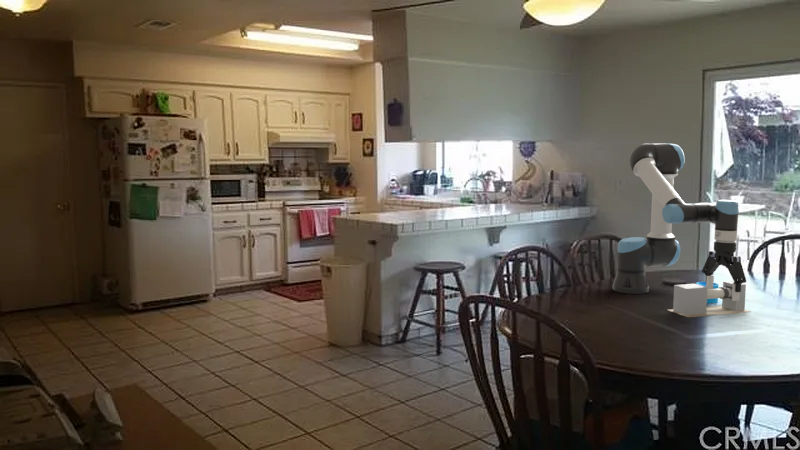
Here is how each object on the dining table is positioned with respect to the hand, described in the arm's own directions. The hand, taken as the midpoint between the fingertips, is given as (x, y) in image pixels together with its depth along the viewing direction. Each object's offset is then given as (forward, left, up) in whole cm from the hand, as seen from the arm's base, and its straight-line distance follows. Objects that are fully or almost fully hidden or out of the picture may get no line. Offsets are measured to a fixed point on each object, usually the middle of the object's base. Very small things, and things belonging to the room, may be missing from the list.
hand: (722, 296), depth 244 cm
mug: (-15, +6, -6) cm, 17 cm away
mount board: (0, -6, -6) cm, 9 cm away
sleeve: (0, -14, -5) cm, 15 cm away
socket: (0, +5, -5) cm, 7 cm away
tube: (0, -3, -1) cm, 3 cm away
